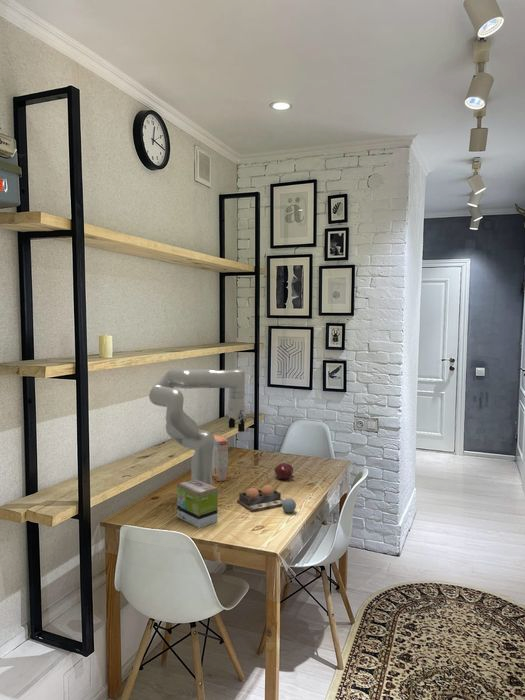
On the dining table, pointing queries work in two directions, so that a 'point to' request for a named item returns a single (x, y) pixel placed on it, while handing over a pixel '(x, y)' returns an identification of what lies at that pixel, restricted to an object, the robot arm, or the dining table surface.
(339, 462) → the dining table surface
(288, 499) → the slate ball
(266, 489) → the seated terracotta ball
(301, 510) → the dining table surface
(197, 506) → the tea box
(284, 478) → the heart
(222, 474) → the cracker box
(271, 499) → the grey divided tray
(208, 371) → the robot arm
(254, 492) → the terracotta ball
